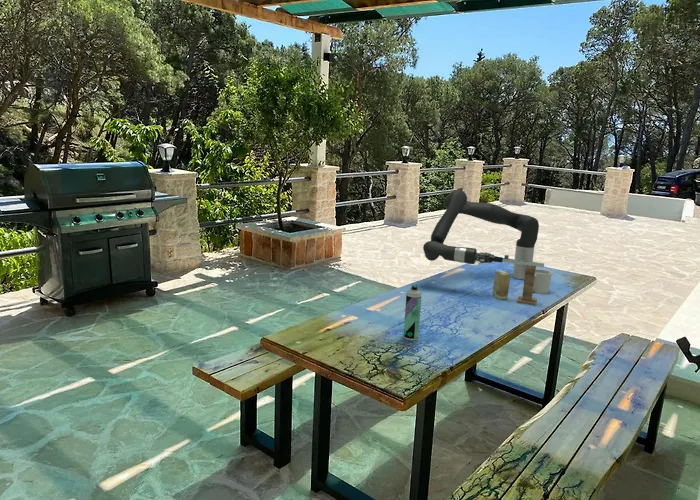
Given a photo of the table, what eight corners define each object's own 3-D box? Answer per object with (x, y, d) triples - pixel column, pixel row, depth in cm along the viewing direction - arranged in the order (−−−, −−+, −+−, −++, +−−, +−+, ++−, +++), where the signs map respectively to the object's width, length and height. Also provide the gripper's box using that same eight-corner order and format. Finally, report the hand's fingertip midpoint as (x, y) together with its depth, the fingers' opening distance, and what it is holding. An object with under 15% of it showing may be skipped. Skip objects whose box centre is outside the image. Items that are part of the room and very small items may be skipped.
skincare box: (491, 295, 255) (494, 270, 252) (499, 295, 257) (501, 270, 254) (500, 300, 250) (503, 274, 247) (508, 299, 251) (511, 273, 249)
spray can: (408, 333, 203) (412, 282, 199) (421, 337, 200) (425, 285, 196) (400, 337, 199) (404, 285, 195) (413, 341, 196) (416, 288, 191)
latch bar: (502, 261, 251) (503, 254, 250) (543, 266, 244) (544, 259, 243) (502, 261, 249) (503, 255, 248) (543, 267, 242) (544, 260, 241)
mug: (546, 289, 271) (548, 269, 268) (551, 294, 261) (553, 274, 259) (524, 287, 272) (526, 268, 269) (528, 293, 262) (530, 273, 260)
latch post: (518, 297, 254) (522, 262, 250) (536, 300, 251) (541, 265, 247) (516, 302, 247) (520, 266, 243) (534, 305, 244) (539, 268, 240)
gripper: (463, 250, 249) (501, 254, 243) (468, 244, 261) (505, 249, 255) (461, 265, 251) (499, 271, 244) (467, 260, 263) (504, 264, 256)
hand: (502, 260), depth 250 cm, fingers closed
